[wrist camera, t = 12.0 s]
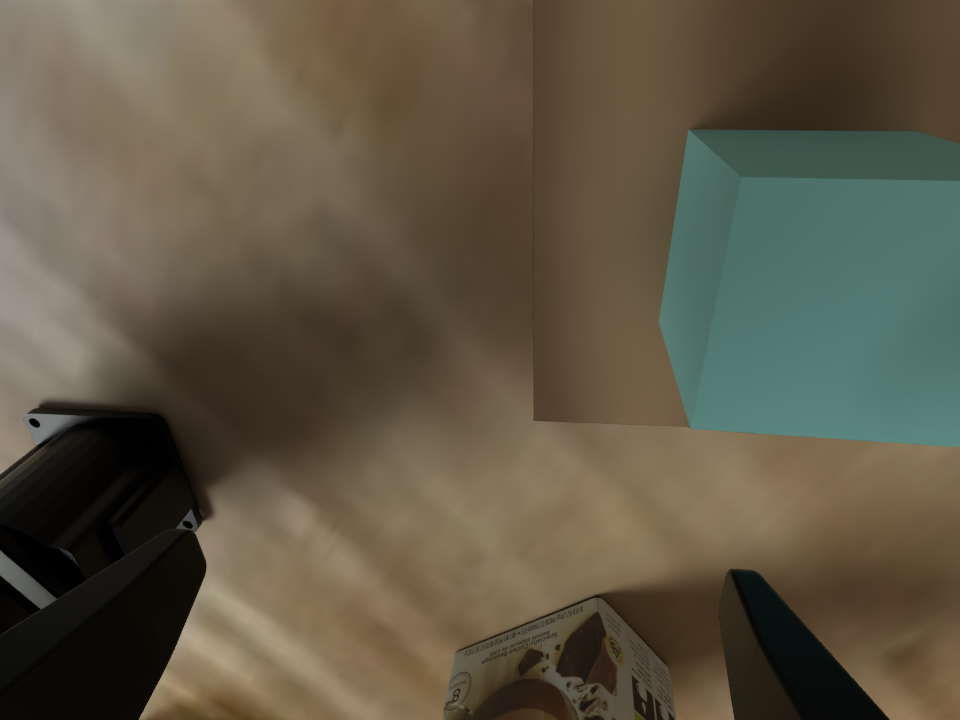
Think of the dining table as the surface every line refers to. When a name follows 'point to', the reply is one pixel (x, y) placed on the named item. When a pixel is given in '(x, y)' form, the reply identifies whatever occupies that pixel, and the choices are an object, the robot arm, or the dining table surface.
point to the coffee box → (562, 672)
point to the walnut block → (661, 148)
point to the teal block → (817, 285)
